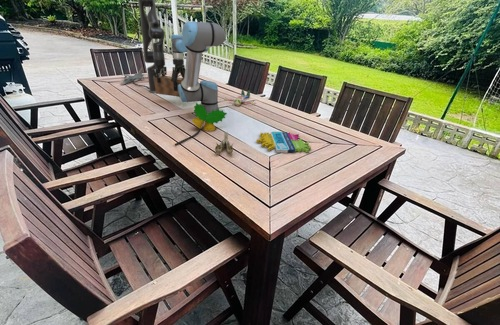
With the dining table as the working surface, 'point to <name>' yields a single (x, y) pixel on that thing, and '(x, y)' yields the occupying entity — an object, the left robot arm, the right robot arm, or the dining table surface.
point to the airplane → (134, 77)
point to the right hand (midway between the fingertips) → (180, 89)
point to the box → (166, 86)
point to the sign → (283, 142)
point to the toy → (241, 99)
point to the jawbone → (224, 145)
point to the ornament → (207, 117)
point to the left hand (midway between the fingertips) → (161, 82)
